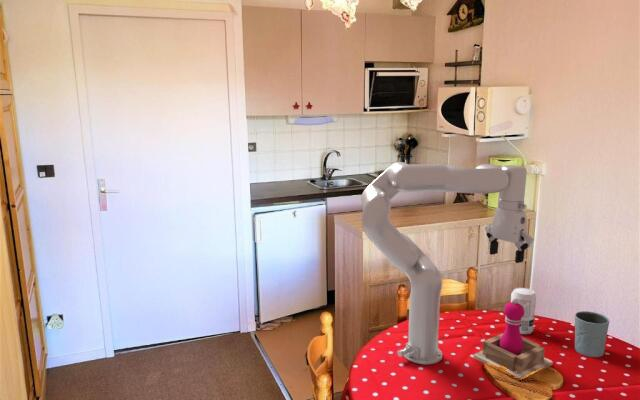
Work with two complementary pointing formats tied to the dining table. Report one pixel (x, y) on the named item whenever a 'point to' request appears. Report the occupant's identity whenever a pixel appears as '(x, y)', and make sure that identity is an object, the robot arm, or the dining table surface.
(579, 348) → the grey cylindrical pot
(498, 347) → the stand
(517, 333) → the pepper mill
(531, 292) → the supplement can
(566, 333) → the dining table surface
